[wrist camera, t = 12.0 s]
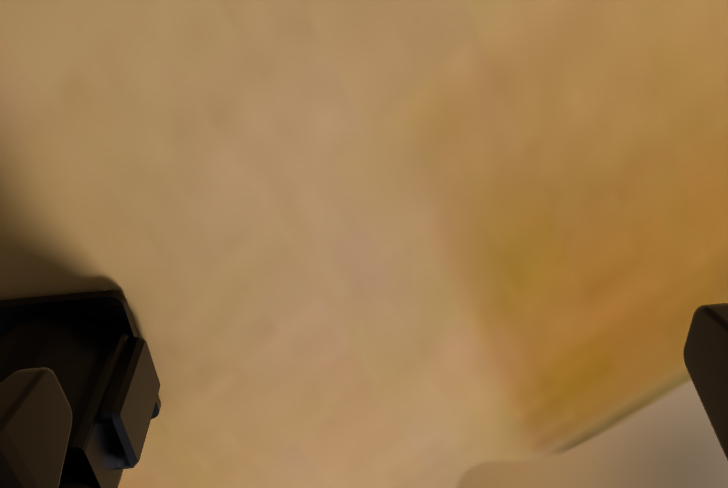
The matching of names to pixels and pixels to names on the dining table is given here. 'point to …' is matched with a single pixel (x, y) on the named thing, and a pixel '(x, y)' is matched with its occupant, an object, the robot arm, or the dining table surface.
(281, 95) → the dining table surface
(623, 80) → the dining table surface
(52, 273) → the dining table surface
